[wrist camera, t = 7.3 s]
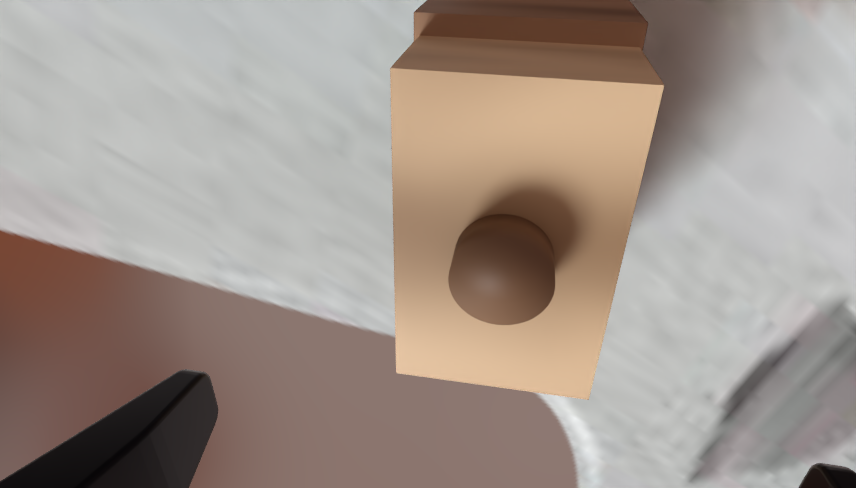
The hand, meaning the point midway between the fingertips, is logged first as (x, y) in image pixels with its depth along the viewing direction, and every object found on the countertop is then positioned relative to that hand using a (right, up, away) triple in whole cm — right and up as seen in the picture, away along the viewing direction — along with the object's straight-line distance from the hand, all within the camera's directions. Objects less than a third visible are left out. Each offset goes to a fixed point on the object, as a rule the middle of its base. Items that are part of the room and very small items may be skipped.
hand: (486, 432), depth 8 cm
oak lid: (+1, +4, +6) cm, 8 cm away
